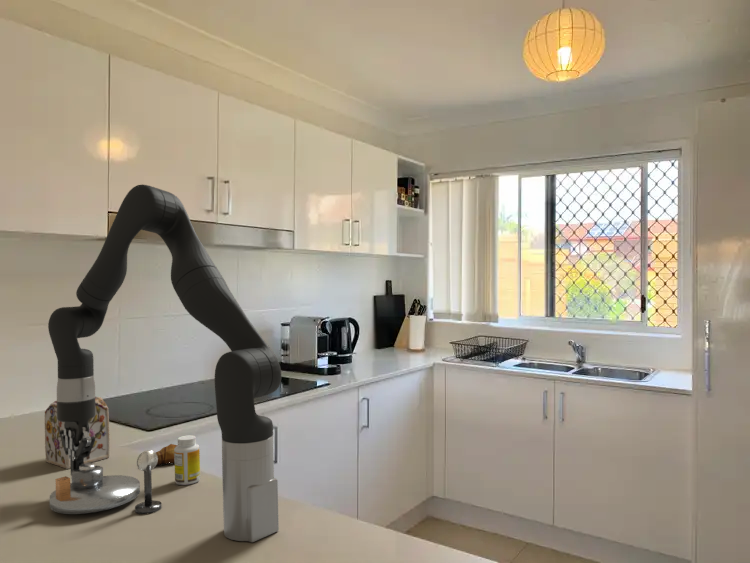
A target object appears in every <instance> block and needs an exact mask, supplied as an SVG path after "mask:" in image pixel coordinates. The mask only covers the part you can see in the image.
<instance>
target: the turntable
mask: <svg viewBox="0 0 750 563" xmlns="http://www.w3.org/2000/svg"><path fill="white" fill-rule="evenodd" d="M140 493H141V482H140V479H138V478H136V477H134V476H130V475H119V474H118V475H116V474H115V475H103V484H102V485H100V486H98V487H96V488H92V489H87V490H74V489H72V482H71V478H70V476H69V477H68V476H61V477H58V478H55V490H54V491H52V492H51V493H50V495H49V509H50V510H52V512H55V513H59V514H64V515H81V514H91V513H97V512H103V511H107V510H110V509H114V508H117V507H120V506H122V505H125V504H127V503H130V502H131V501H133V500H134V499H136V498H137V497H138V496H140Z"/></svg>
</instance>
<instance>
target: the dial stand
mask: <svg viewBox="0 0 750 563" xmlns="http://www.w3.org/2000/svg"><path fill="white" fill-rule="evenodd" d="M157 462H158V456H157V454H156V451H153V450H148V449H147V450H144V451H142V452H141V453H140V454H139V455H138V457H137V458H136V466H137V468H138V470H139V471H142V472H143V482H144V484H143V486H144V487H143V488H144V492H143V494H144V499H143V500H144V501H143V502H140V503H138V504H136V505H135V507H134V512H135V513H136V514H138V515H148V514H147V513H149V514H153V512H154V513H157V512H159V511H160V510H161V509H162V508H163V506H162V502H161V501H160V500H153V492H152V491H153V490H152V489H153V488H152V470H154V468H156V467H157V466H156V465H157Z"/></svg>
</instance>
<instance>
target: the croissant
mask: <svg viewBox="0 0 750 563" xmlns="http://www.w3.org/2000/svg"><path fill="white" fill-rule="evenodd" d="M176 446H178V444H174V443H170V444H168V445H167V446H163V447H162V448H160V449H159V450H158V451H155V453H156V454H157V456H158V462H157V465H160V466H164V465H163V464H167V465H175V461H174V449H175V447H176ZM169 462H170V463H169ZM171 463H173V464H171Z"/></svg>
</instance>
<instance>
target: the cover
mask: <svg viewBox="0 0 750 563" xmlns="http://www.w3.org/2000/svg"><path fill="white" fill-rule="evenodd" d="M71 475H72V476H71ZM70 476H71V483H72V489H74V490H87V489H92V488H96V487H98V486H100V485H102V484H103V476H104V467H103V466H101V465H96V464H95V463H94V462H92V463H88V464H83V465H80V466H79V468H78V469H75V470H73V471H72V472H71V471H70Z"/></svg>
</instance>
